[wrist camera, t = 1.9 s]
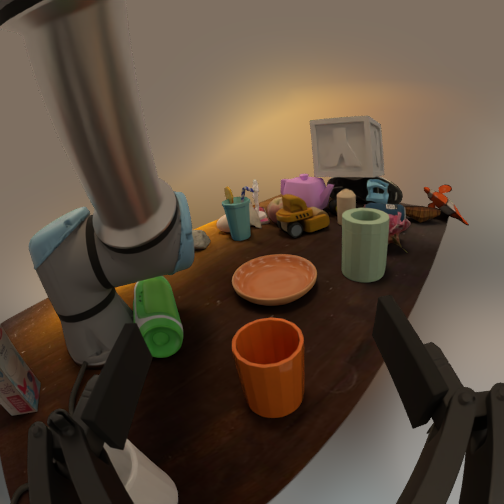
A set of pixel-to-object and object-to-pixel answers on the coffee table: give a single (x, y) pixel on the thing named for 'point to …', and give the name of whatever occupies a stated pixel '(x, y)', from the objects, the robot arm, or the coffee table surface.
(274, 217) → the apple
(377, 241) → the green jar
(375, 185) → the phone stand
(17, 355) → the juice carton
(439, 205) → the fish
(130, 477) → the mug
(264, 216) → the figurine
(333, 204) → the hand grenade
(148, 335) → the speaker
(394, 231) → the flower
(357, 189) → the running shoe
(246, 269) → the saucer
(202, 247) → the decorative stone
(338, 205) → the candle
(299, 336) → the orange cup
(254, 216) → the arrowhead
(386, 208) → the soda can
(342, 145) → the decorative block
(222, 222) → the egg
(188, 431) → the coffee table surface
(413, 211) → the croissant
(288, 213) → the toy roller
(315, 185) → the teapot
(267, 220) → the smartphone
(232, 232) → the cup
